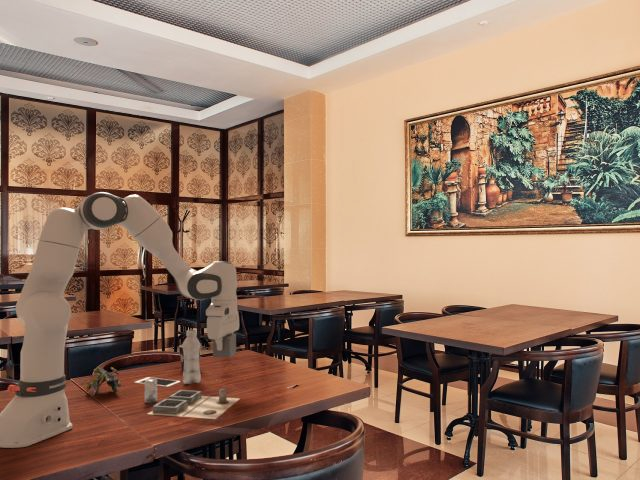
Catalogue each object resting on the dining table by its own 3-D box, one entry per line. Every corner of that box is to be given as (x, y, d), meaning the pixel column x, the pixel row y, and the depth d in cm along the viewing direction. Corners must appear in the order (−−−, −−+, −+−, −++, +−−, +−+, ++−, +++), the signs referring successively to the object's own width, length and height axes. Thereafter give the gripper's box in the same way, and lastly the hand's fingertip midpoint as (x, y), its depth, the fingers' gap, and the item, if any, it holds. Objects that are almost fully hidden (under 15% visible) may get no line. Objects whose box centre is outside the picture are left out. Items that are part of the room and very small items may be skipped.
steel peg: (153, 403, 168) (153, 382, 168) (142, 402, 168) (142, 381, 169) (159, 399, 172) (159, 379, 172) (148, 399, 172) (148, 378, 172)
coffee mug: (178, 367, 216) (178, 344, 216) (199, 366, 218) (199, 343, 218) (179, 374, 205) (179, 349, 205) (201, 372, 207) (201, 348, 207)
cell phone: (147, 378, 200) (147, 377, 200) (181, 382, 194) (181, 380, 194) (133, 383, 193) (133, 382, 193) (168, 388, 187) (168, 386, 187)
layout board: (215, 424, 148) (215, 405, 148) (147, 418, 153) (147, 400, 153) (240, 403, 168) (240, 386, 168) (178, 399, 172) (178, 382, 172)
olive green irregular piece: (113, 407, 181) (130, 381, 179) (85, 409, 172) (103, 382, 170) (101, 384, 187) (117, 359, 185) (73, 386, 178) (89, 359, 176)
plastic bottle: (196, 386, 187) (196, 332, 187) (179, 385, 188) (179, 331, 188) (203, 382, 193) (203, 329, 193) (187, 381, 195) (187, 329, 195)
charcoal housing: (229, 357, 172) (229, 336, 172) (213, 356, 173) (212, 336, 173) (236, 353, 178) (235, 333, 178) (219, 353, 179) (219, 333, 179)
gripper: (227, 303, 186) (227, 341, 186) (203, 311, 166) (203, 353, 166) (243, 304, 185) (243, 342, 185) (221, 311, 165) (221, 354, 165)
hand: (224, 347), depth 176 cm, fingers closed on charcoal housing, 6 cm apart
